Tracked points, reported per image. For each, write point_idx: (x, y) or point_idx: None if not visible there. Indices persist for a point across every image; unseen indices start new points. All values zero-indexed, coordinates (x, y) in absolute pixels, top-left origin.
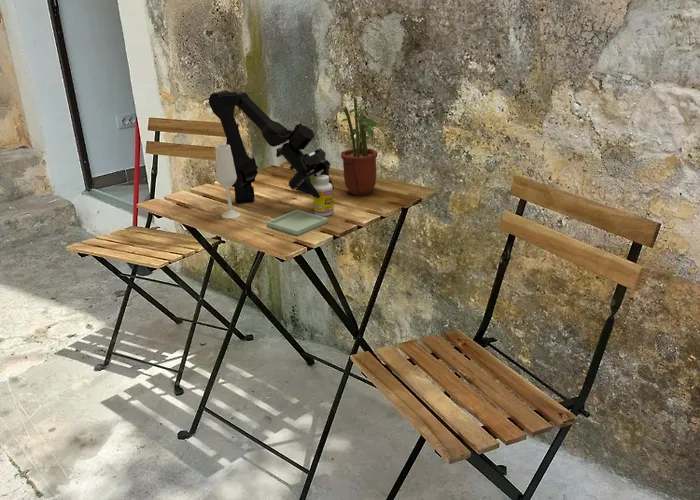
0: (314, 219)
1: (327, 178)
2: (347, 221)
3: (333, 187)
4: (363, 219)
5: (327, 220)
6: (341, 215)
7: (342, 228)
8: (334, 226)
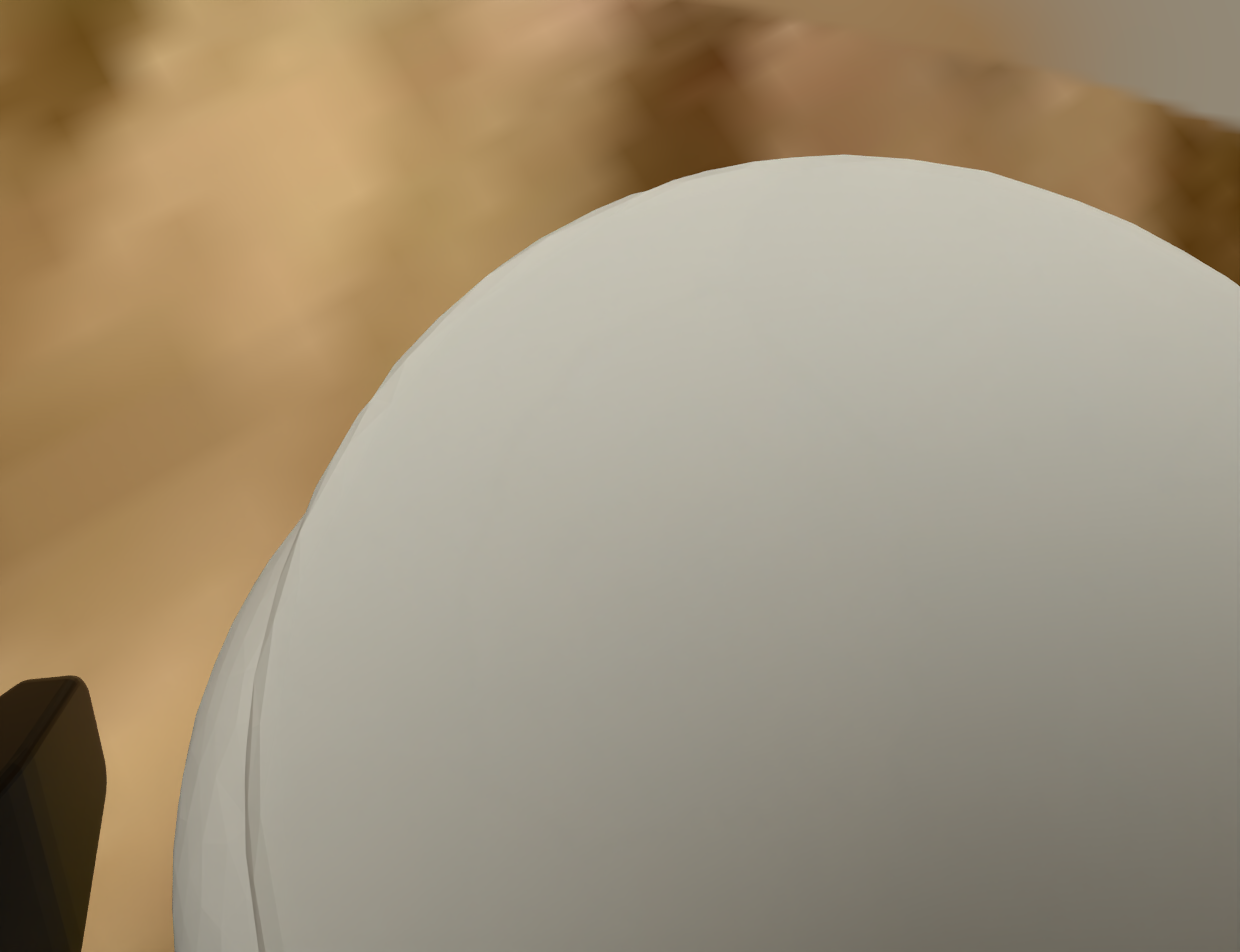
0: None
1: (886, 181)
2: None
3: (39, 693)
4: (476, 10)
5: None
6: None
7: (987, 108)
8: None
